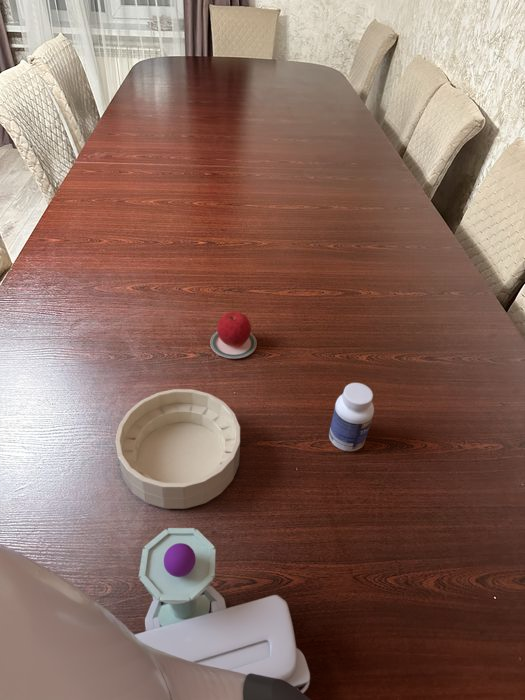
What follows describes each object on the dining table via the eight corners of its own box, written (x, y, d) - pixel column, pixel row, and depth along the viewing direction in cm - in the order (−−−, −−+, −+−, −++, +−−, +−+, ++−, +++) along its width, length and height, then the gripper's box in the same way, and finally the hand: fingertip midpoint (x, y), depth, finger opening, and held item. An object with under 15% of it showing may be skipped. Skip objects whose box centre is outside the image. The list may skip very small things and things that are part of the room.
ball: (160, 578, 50) (162, 572, 47) (164, 546, 51) (166, 538, 49) (192, 580, 50) (195, 574, 48) (194, 548, 52) (198, 540, 50)
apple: (202, 352, 89) (201, 322, 84) (222, 325, 94) (222, 296, 90) (245, 366, 87) (247, 336, 83) (263, 337, 93) (265, 308, 88)
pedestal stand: (145, 643, 55) (134, 600, 48) (154, 575, 60) (145, 527, 53) (214, 642, 56) (213, 600, 48) (216, 575, 61) (216, 528, 54)
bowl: (111, 510, 66) (104, 486, 62) (131, 413, 78) (126, 387, 74) (238, 511, 67) (239, 487, 63) (239, 414, 79) (240, 390, 75)
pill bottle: (360, 457, 75) (374, 413, 68) (324, 445, 76) (334, 400, 69) (368, 430, 78) (381, 385, 72) (333, 419, 80) (344, 374, 73)
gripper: (321, 684, 46) (274, 541, 56) (80, 765, 41) (74, 592, 51) (312, 704, 50) (270, 568, 60) (93, 780, 45) (85, 618, 55)
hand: (179, 580), depth 55 cm, fingers closed on pedestal stand, 3 cm apart
